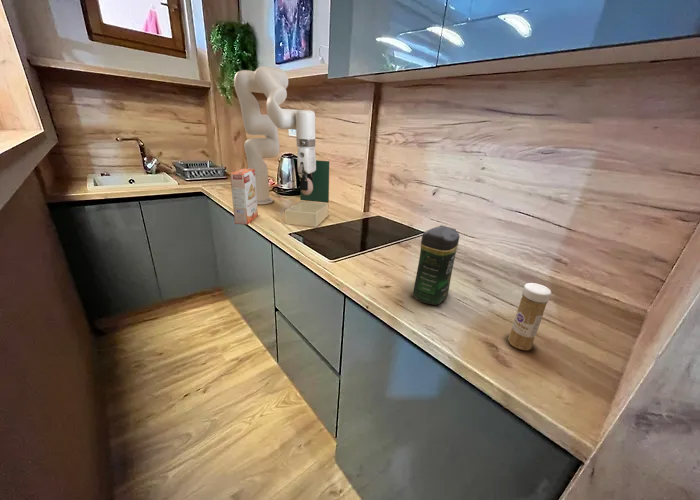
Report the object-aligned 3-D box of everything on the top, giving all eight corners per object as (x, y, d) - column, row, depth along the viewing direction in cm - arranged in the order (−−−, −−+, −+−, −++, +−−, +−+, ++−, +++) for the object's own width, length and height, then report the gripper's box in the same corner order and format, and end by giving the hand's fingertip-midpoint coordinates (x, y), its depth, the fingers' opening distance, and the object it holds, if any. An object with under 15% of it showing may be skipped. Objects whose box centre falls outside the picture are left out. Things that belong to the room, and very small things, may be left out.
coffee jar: (437, 309, 73) (450, 238, 66) (408, 298, 78) (417, 229, 71) (452, 294, 81) (465, 228, 73) (424, 284, 85) (434, 220, 78)
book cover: (328, 161, 132) (332, 160, 137) (299, 159, 135) (304, 158, 140) (328, 202, 139) (331, 200, 144) (300, 200, 142) (304, 197, 147)
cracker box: (249, 225, 125) (244, 173, 116) (234, 224, 125) (228, 172, 116) (259, 215, 137) (255, 168, 129) (245, 215, 138) (241, 167, 129)
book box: (315, 227, 126) (315, 213, 124) (285, 223, 129) (284, 210, 127) (328, 215, 142) (328, 203, 140) (301, 212, 145) (300, 200, 142)
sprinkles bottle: (503, 340, 64) (519, 284, 59) (516, 334, 66) (533, 280, 61) (523, 354, 60) (542, 296, 55) (537, 347, 62) (557, 290, 57)
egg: (314, 196, 129) (314, 178, 126) (302, 196, 127) (302, 179, 124) (310, 193, 133) (310, 176, 130) (299, 194, 131) (298, 176, 128)
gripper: (307, 145, 114) (307, 193, 121) (321, 143, 129) (321, 185, 136) (288, 144, 115) (290, 192, 122) (304, 142, 130) (305, 184, 137)
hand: (306, 188), depth 129 cm, fingers closed on egg, 5 cm apart
